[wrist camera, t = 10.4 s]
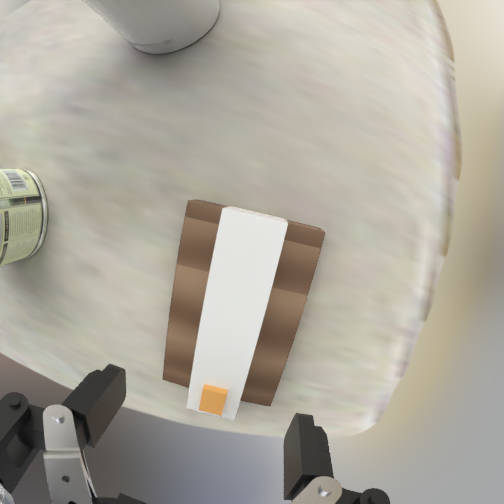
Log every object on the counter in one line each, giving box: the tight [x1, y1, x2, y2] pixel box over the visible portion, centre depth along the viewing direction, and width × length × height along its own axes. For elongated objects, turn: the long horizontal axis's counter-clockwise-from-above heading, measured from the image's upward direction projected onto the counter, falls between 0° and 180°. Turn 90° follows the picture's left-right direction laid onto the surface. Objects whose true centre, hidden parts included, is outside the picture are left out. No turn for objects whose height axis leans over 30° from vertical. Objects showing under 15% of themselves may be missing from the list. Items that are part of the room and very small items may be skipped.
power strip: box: [186, 206, 288, 420], centre depth 21 cm, size 16×4×6 cm, turn 167°
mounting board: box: [163, 200, 325, 406], centre depth 23 cm, size 16×10×2 cm, turn 167°
